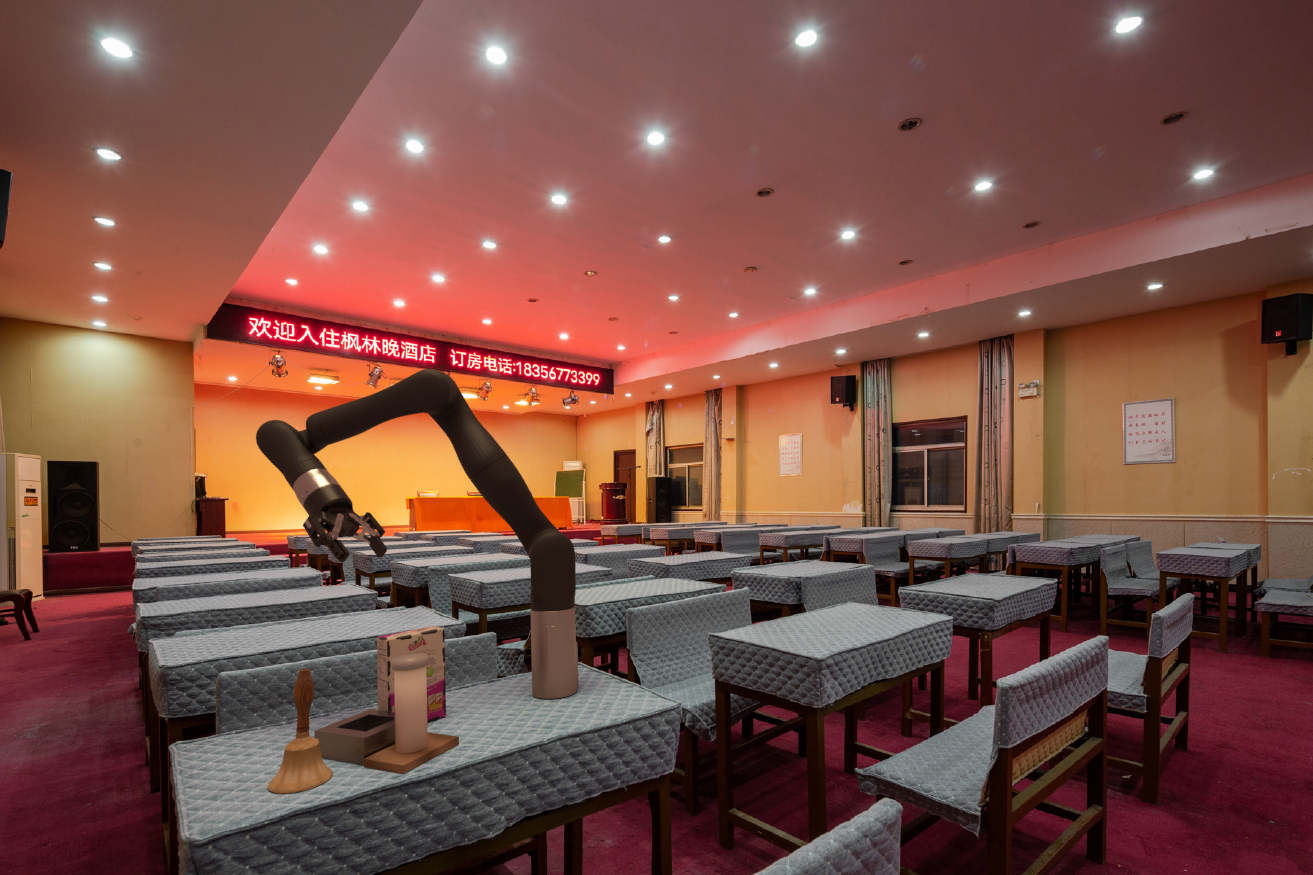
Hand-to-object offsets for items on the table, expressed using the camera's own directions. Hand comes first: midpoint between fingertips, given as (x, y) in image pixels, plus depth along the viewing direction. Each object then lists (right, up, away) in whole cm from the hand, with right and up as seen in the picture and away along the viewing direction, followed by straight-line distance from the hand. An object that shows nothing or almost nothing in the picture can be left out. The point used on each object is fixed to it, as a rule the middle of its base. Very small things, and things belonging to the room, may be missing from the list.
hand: (365, 556), depth 117 cm
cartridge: (+15, -27, -17) cm, 36 cm away
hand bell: (+2, -28, -25) cm, 38 cm away
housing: (+6, -29, -13) cm, 33 cm away
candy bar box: (+9, -31, -2) cm, 32 cm away
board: (+16, -28, -17) cm, 37 cm away
